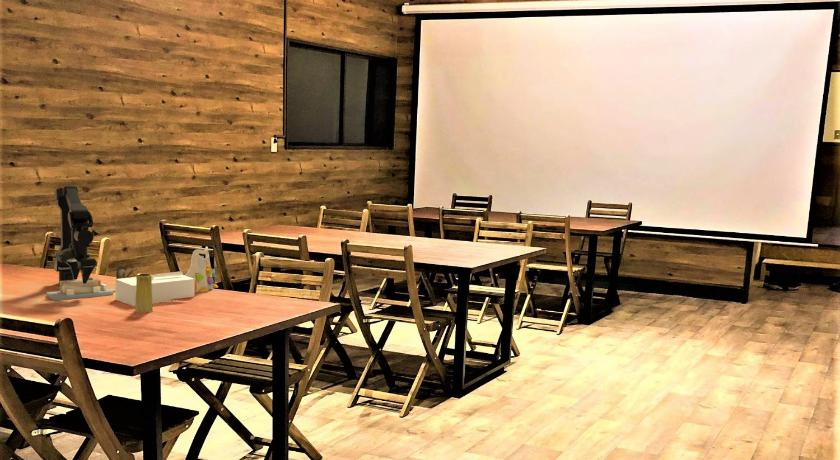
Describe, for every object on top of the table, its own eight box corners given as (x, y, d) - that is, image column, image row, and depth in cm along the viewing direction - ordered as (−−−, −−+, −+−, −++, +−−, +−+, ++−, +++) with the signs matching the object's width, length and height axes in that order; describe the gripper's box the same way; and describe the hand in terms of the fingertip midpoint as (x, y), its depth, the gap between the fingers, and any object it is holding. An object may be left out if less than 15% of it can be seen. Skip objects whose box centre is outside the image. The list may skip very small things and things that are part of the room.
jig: (46, 296, 333) (46, 287, 332) (102, 290, 348) (102, 281, 347) (55, 301, 326) (55, 291, 325) (113, 294, 340) (113, 286, 340)
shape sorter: (202, 296, 344) (202, 252, 342) (177, 294, 346) (177, 250, 344) (223, 287, 364) (223, 245, 361) (199, 285, 365) (199, 243, 363)
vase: (147, 311, 315) (147, 272, 314) (155, 314, 311) (156, 275, 309) (131, 313, 311) (131, 274, 309) (139, 316, 307) (139, 277, 305)
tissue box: (115, 301, 330) (115, 273, 329) (176, 294, 348) (176, 267, 346) (132, 308, 320) (132, 279, 319) (194, 300, 337) (194, 272, 336)
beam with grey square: (60, 292, 333) (59, 279, 333) (96, 288, 343) (96, 276, 342) (63, 294, 330) (63, 281, 330) (100, 290, 340) (100, 278, 339)
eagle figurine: (137, 287, 355) (137, 266, 354) (131, 291, 348) (131, 269, 347) (118, 287, 355) (118, 265, 354) (112, 290, 348) (112, 268, 347)
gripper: (49, 239, 335) (49, 279, 337) (67, 246, 321) (67, 287, 323) (78, 237, 343) (78, 276, 345) (97, 244, 329) (97, 284, 331)
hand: (79, 281), depth 336 cm, fingers open, 9 cm apart
